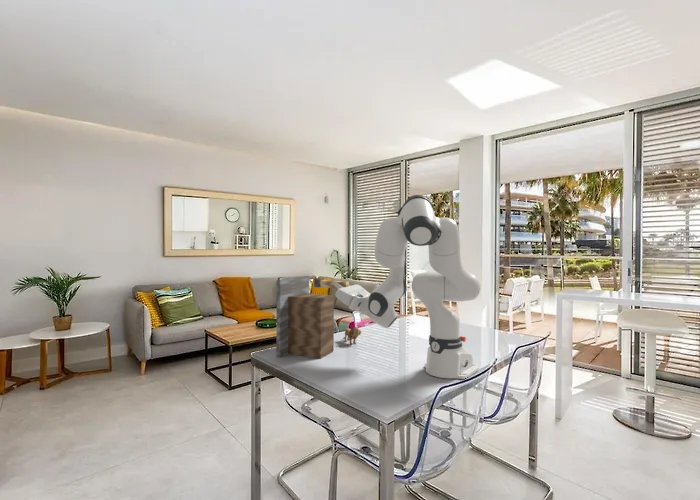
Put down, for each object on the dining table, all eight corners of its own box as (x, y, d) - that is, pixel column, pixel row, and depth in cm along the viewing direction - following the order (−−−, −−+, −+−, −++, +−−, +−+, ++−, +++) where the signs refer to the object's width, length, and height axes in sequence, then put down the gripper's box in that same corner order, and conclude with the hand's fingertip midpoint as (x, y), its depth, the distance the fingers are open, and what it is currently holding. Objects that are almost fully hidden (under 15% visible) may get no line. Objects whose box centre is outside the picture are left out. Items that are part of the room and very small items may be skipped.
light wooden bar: (349, 288, 164) (349, 280, 164) (345, 289, 161) (345, 280, 161) (318, 286, 171) (318, 278, 171) (314, 287, 168) (314, 279, 168)
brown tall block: (339, 348, 178) (339, 277, 177) (313, 362, 156) (313, 281, 156) (305, 343, 186) (305, 275, 186) (276, 356, 164) (276, 279, 164)
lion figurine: (362, 345, 183) (362, 327, 183) (353, 346, 181) (353, 328, 181) (347, 338, 196) (347, 321, 196) (338, 340, 193) (338, 323, 193)
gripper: (375, 292, 168) (351, 275, 173) (356, 297, 150) (330, 279, 155) (368, 303, 170) (345, 287, 175) (349, 310, 151) (323, 292, 156)
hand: (338, 283), depth 165 cm, fingers closed on light wooden bar, 3 cm apart
